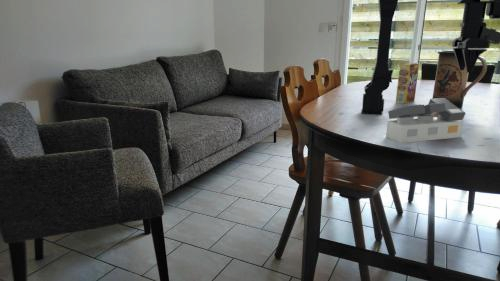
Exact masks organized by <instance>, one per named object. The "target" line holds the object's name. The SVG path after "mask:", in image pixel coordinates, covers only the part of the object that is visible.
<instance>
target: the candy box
mask: <svg viewBox="0 0 500 281" xmlns="http://www.w3.org/2000/svg"><path fill="white" fill-rule="evenodd" d="M419 67H420V63H418V62H408V63H400V64H399V71H398V78H397V79H398V80H397V88H396V94H395V95H396V96H395V103H396V104H402V105H405V104H409V103H412V102H415V98H416V97H415V96H416V90H417V83H418V76H419Z"/></svg>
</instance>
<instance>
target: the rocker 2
mask: <svg viewBox="0 0 500 281" xmlns="http://www.w3.org/2000/svg"><path fill="white" fill-rule="evenodd" d="M424 107H425V113H422V114H418V115H414V116H412V117H414V118H418V116H420V115H435V114H438V113H440V112H445V111H446V107H445V103H435V104H429V103H428V104H424Z"/></svg>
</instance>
